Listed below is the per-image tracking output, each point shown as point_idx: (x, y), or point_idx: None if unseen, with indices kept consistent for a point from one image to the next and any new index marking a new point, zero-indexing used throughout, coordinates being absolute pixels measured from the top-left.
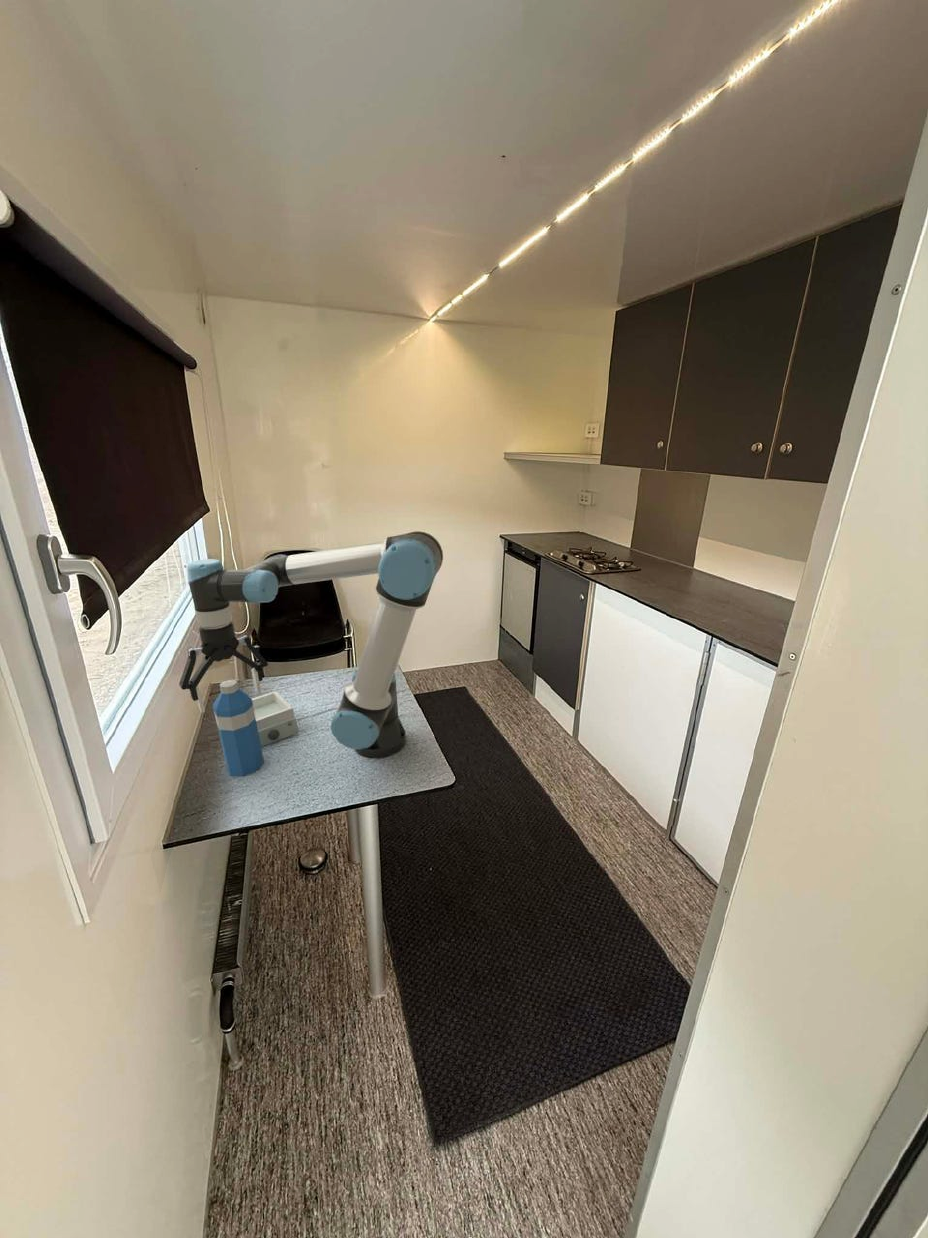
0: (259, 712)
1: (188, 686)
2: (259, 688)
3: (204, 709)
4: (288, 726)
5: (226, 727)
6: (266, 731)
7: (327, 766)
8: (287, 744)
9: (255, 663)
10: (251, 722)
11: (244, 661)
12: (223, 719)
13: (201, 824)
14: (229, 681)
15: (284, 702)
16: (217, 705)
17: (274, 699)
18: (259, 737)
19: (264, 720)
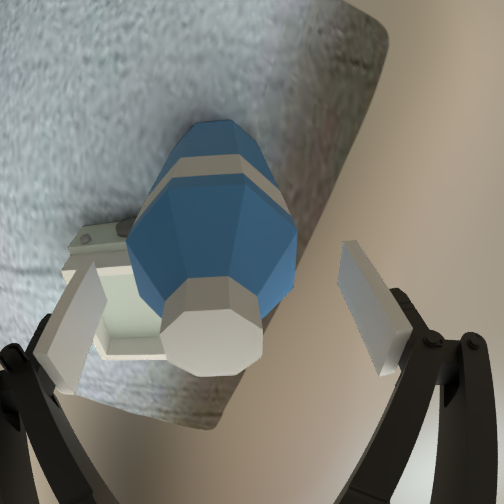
0: (147, 318)
1: (449, 351)
2: (73, 280)
3: (346, 248)
4: (91, 237)
5: (260, 175)
6: None
7: (54, 53)
8: (110, 191)
9: (16, 403)
10: (165, 175)
11: (62, 448)
12: (269, 193)
13: (349, 20)
14: (202, 363)
15: None
16: (287, 254)
17: (110, 342)
18: None
19: None
